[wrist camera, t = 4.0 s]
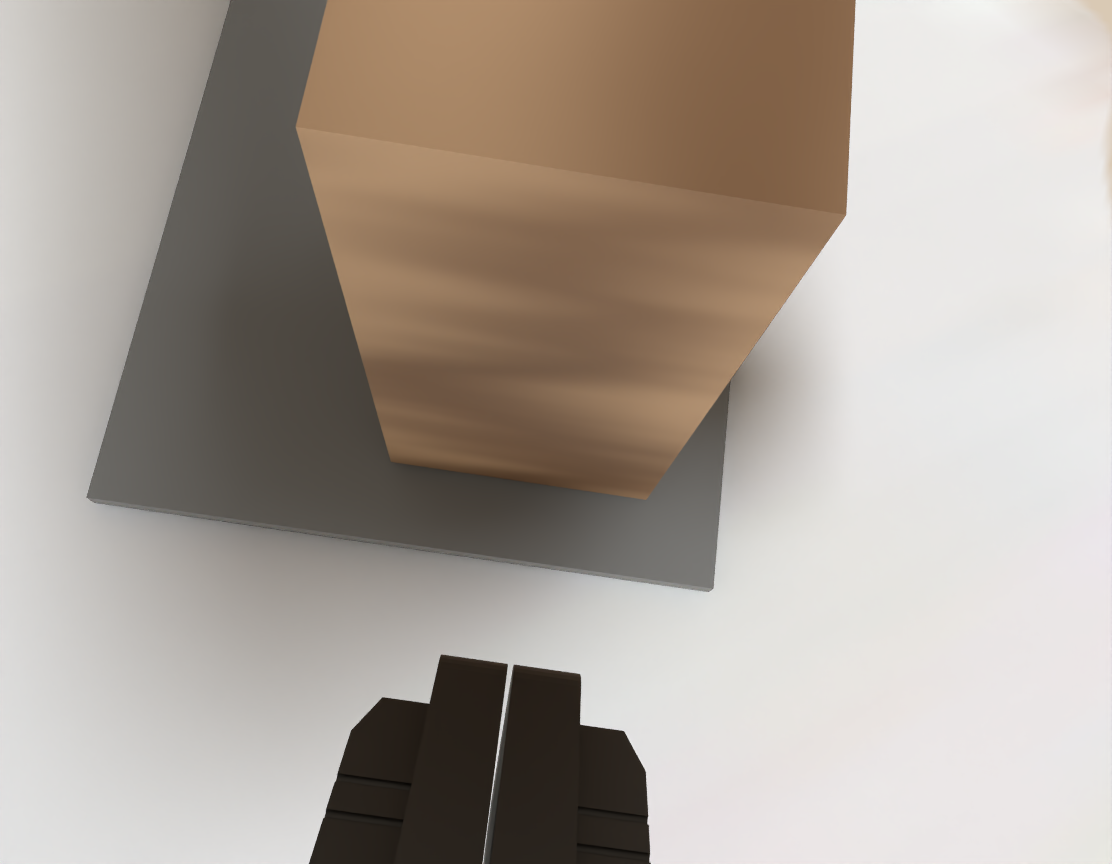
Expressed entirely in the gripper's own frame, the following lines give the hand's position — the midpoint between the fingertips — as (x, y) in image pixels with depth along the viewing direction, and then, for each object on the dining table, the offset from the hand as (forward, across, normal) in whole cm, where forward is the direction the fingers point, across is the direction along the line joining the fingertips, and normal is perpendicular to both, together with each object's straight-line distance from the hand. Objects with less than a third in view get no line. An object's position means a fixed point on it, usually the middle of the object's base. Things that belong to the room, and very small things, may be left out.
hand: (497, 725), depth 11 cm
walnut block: (+10, 0, 0) cm, 11 cm away
